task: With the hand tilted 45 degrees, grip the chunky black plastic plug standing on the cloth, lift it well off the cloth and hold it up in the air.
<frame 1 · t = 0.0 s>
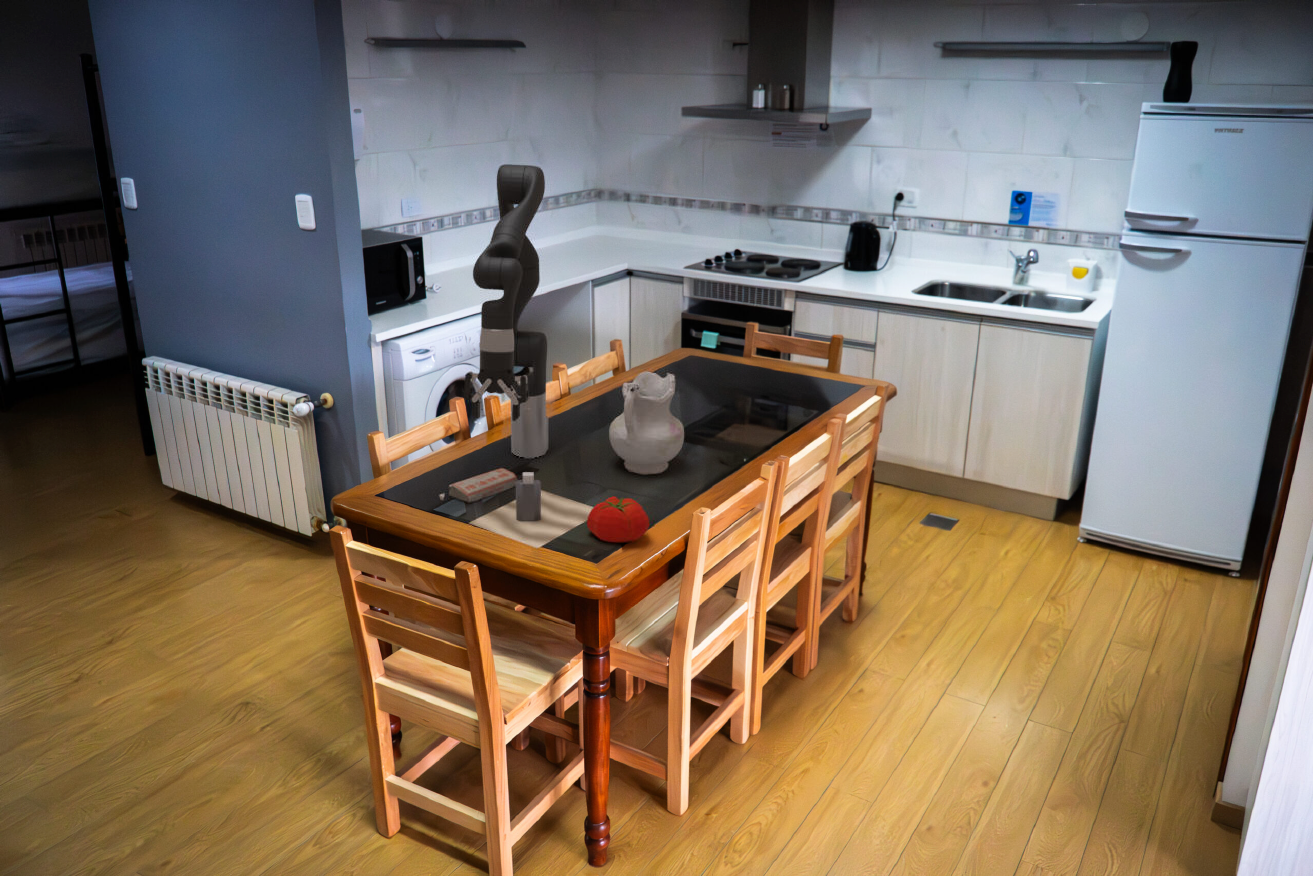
hand: (496, 419, 227), 22 cm above the table, tool pointing down, fingers open, 8 cm apart
ceramic pitcher: (644, 468, 262), on the table
tomato: (617, 537, 224), on the table
cloth: (537, 521, 230), on the table
packaged product: (482, 497, 243), on the table
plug: (528, 518, 228), point 1 cm above the table, touching cloth
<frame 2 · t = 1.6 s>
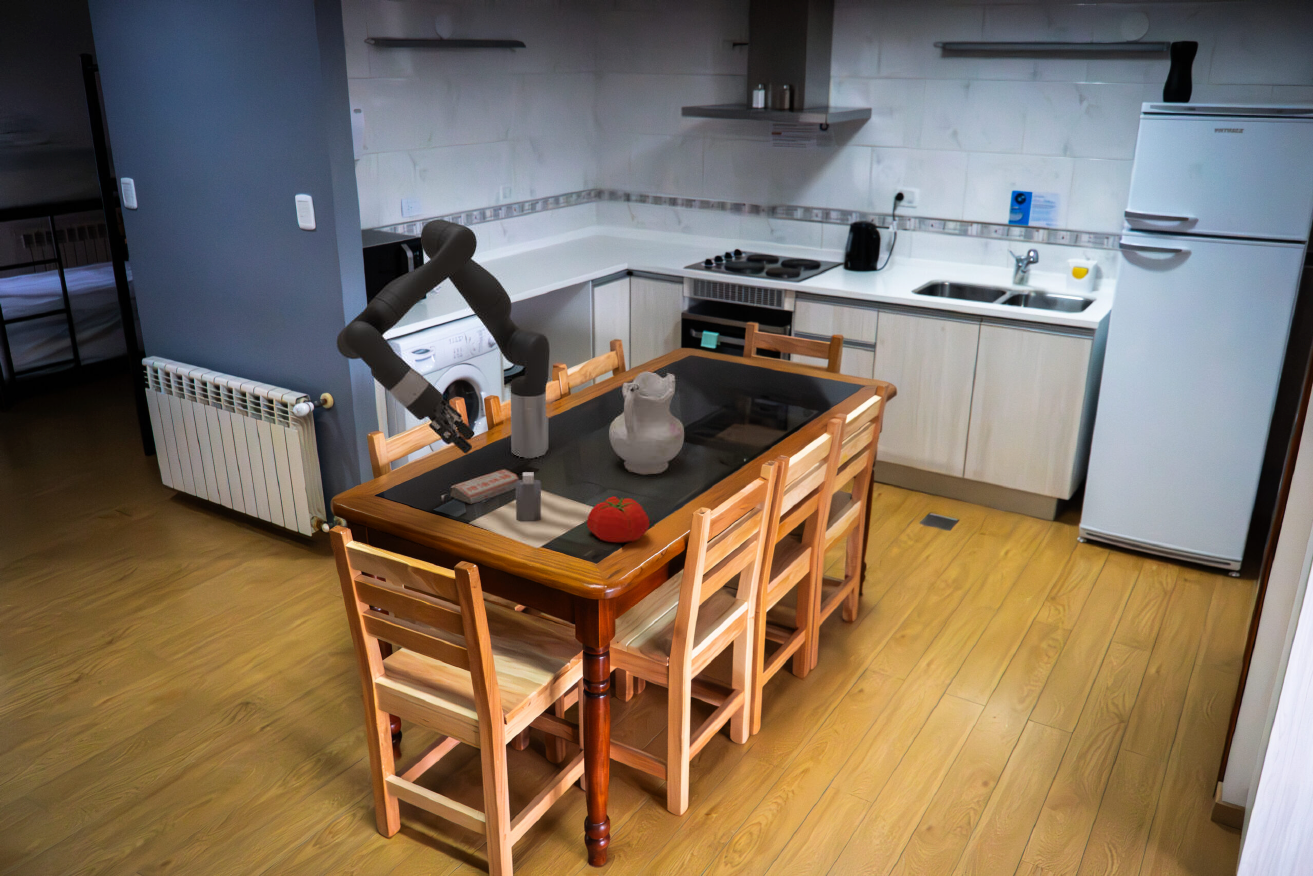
hand: (470, 443, 222), 19 cm above the table, tool tilted 45°, fingers open, 8 cm apart
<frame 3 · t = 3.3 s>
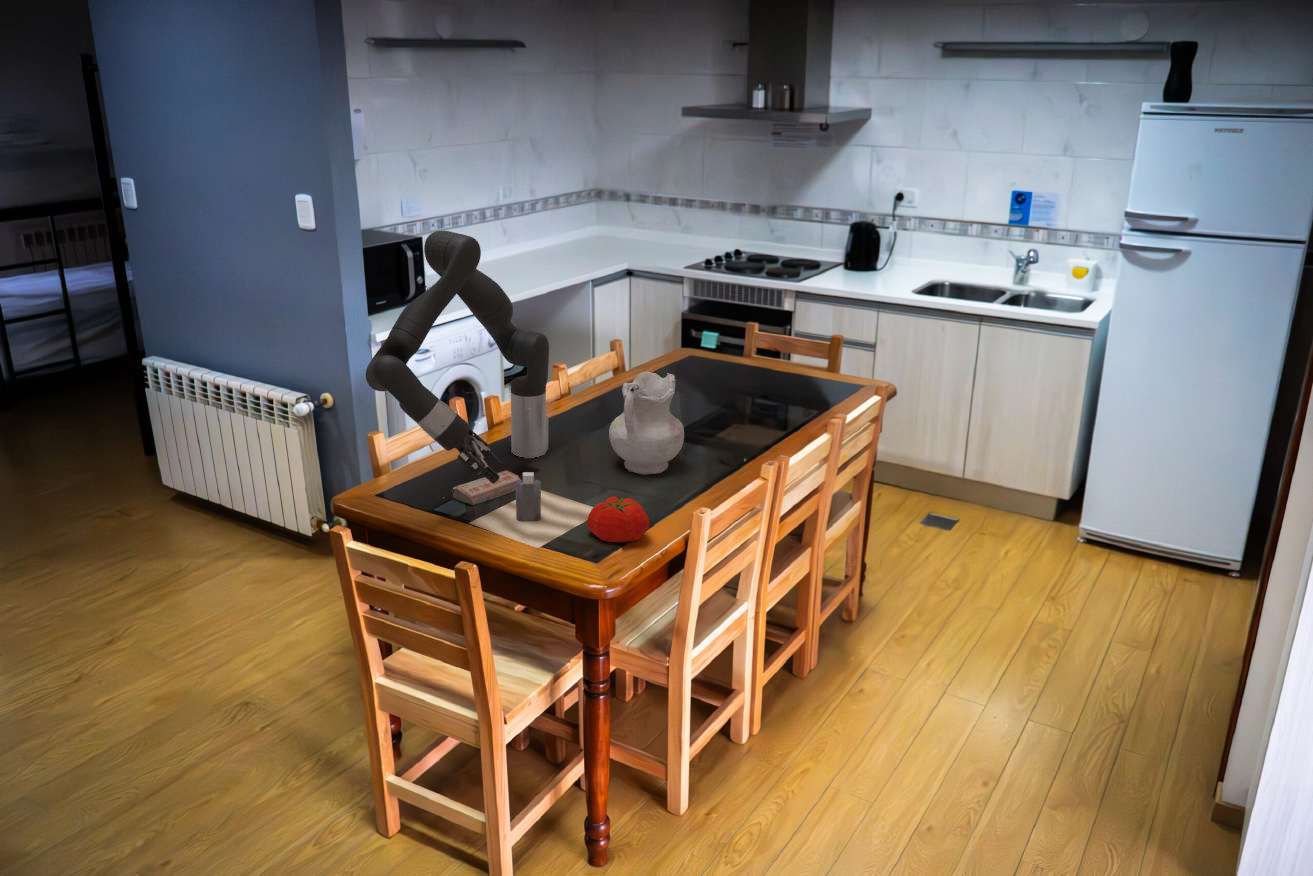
hand: (497, 472, 224), 13 cm above the table, tool tilted 45°, fingers open, 8 cm apart
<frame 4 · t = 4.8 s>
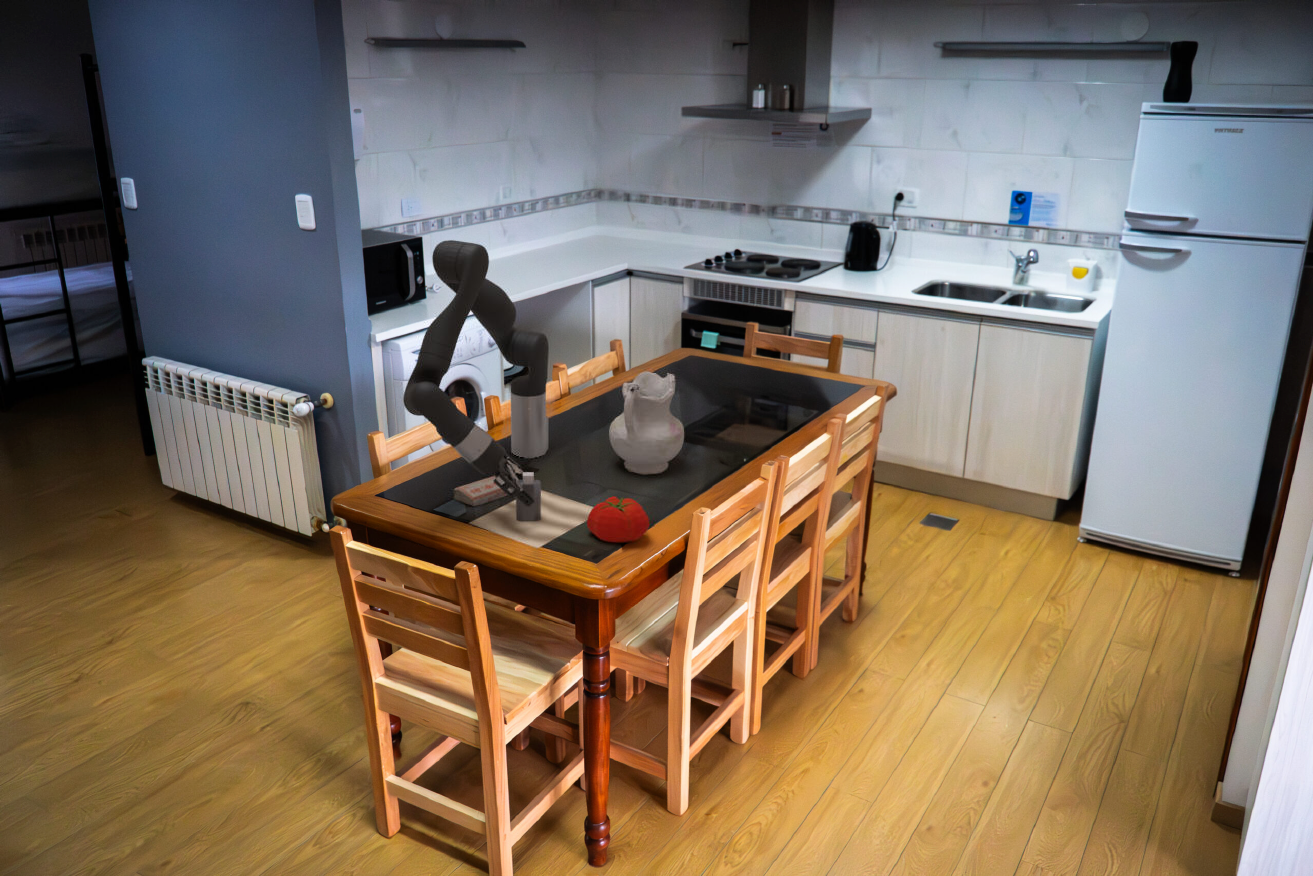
hand: (531, 495, 226), 7 cm above the table, tool tilted 45°, fingers open, 8 cm apart
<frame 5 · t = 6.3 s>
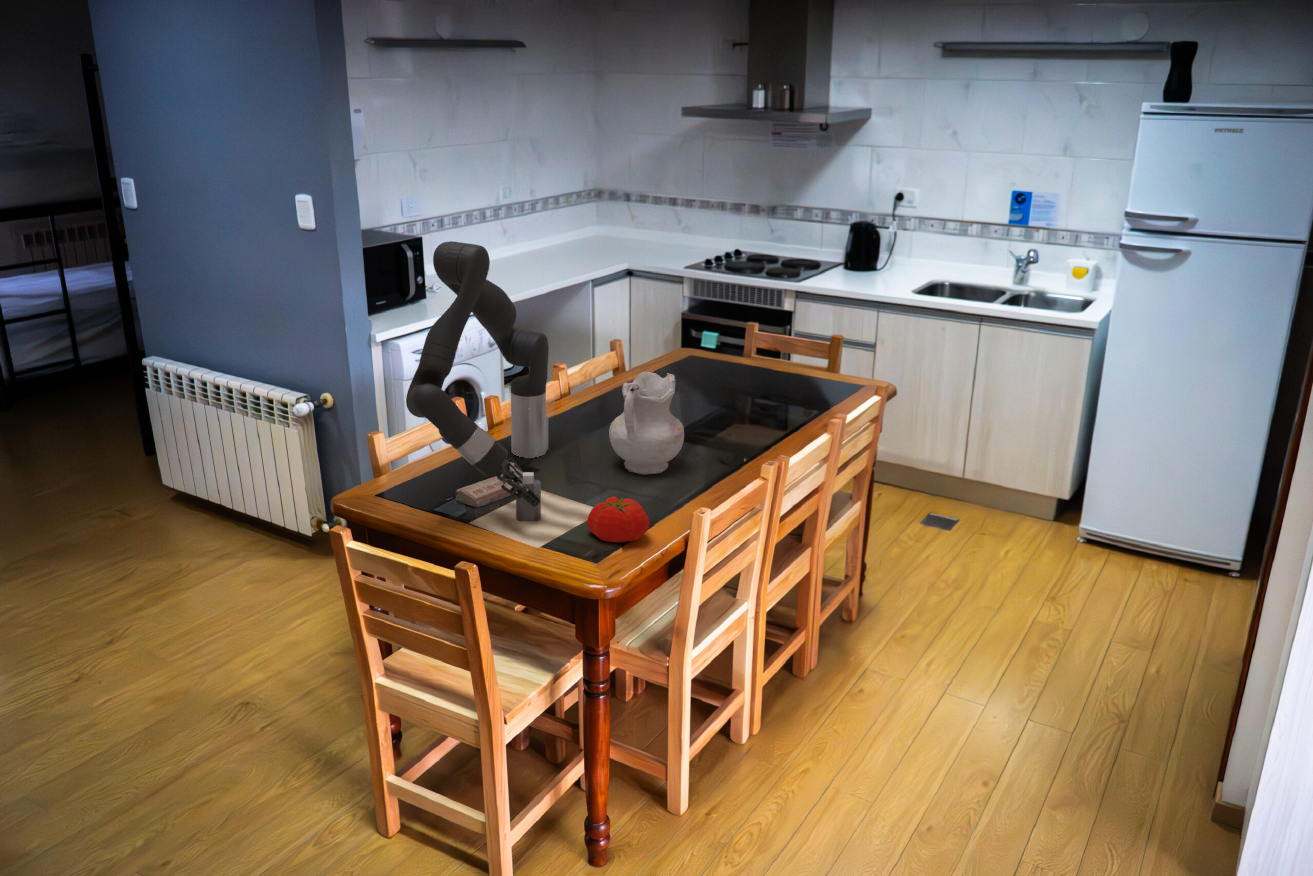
hand: (537, 500, 227), 6 cm above the table, tool tilted 45°, fingers closed on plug, 3 cm apart
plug: (528, 518, 228), point 1 cm above the table, touching cloth, gripper
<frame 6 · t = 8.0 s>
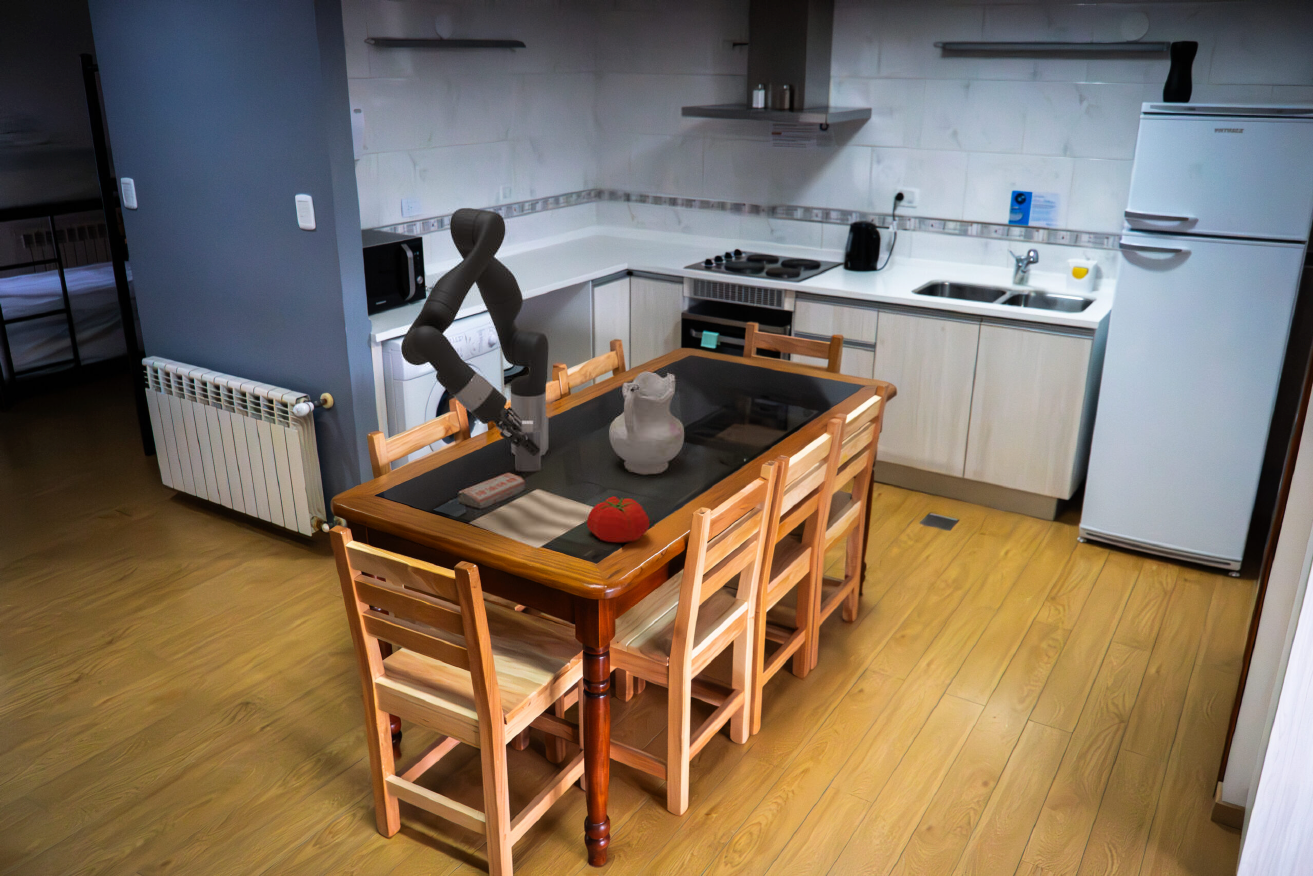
hand: (537, 449, 223), 18 cm above the table, tool tilted 45°, fingers closed on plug, 3 cm apart
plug: (528, 468, 224), point 14 cm above the table, touching gripper
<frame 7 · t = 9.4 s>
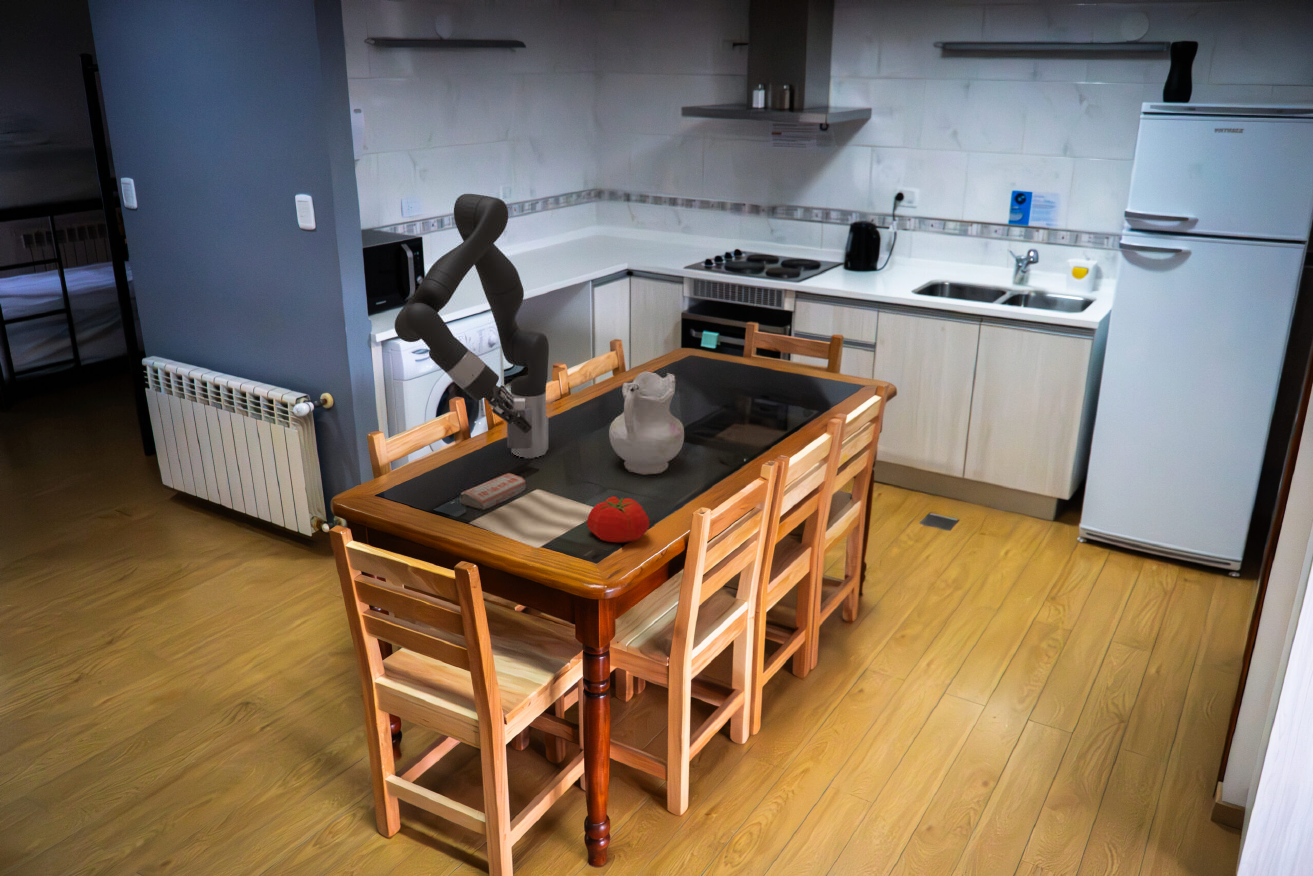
hand: (528, 427, 225), 22 cm above the table, tool tilted 45°, fingers closed on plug, 3 cm apart
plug: (519, 446, 226), point 17 cm above the table, touching gripper
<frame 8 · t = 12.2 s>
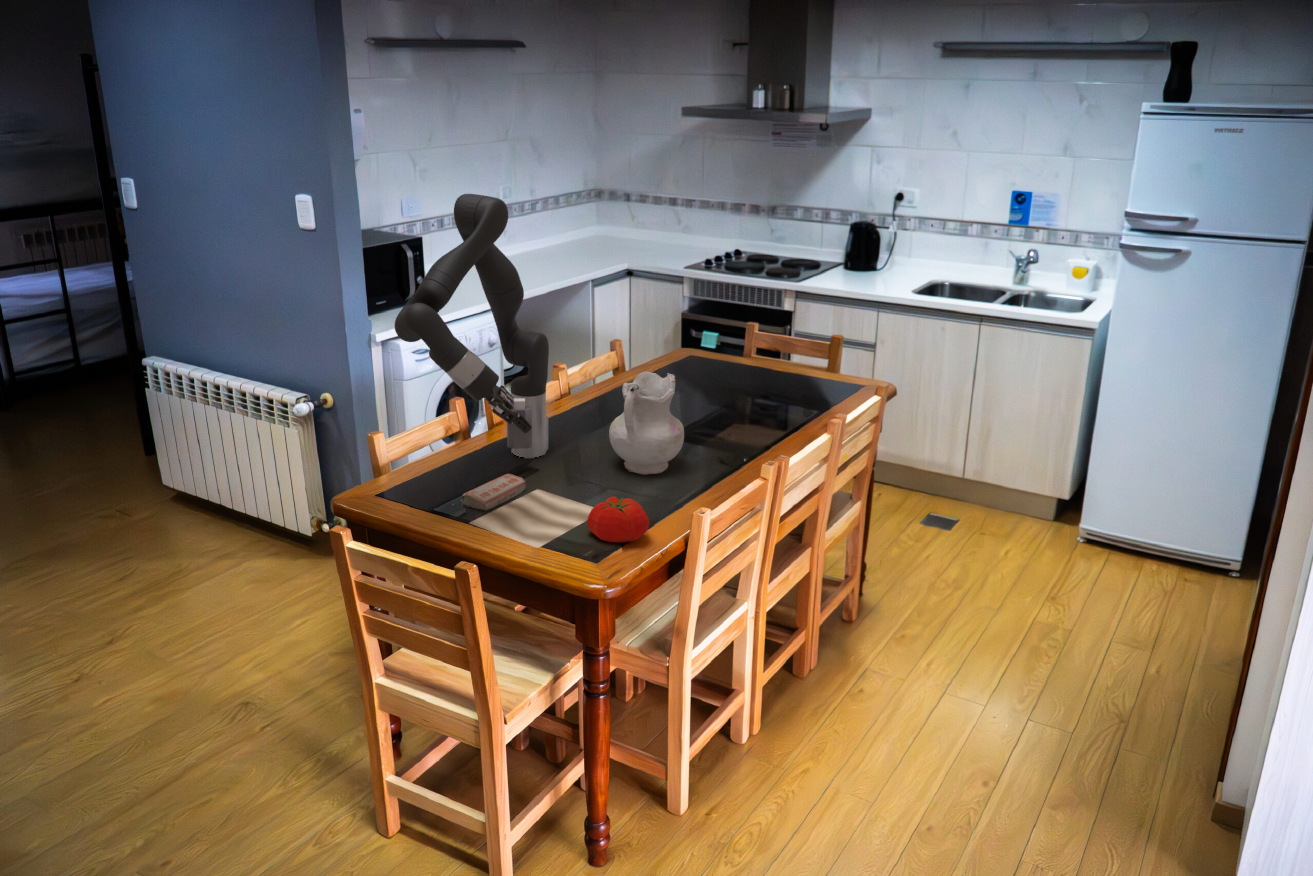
hand: (528, 427, 225), 22 cm above the table, tool tilted 45°, fingers closed on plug, 3 cm apart
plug: (519, 446, 226), point 17 cm above the table, touching gripper
at the end: the gripper is holding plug; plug point 17.3 cm above the table; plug touching gripper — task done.
